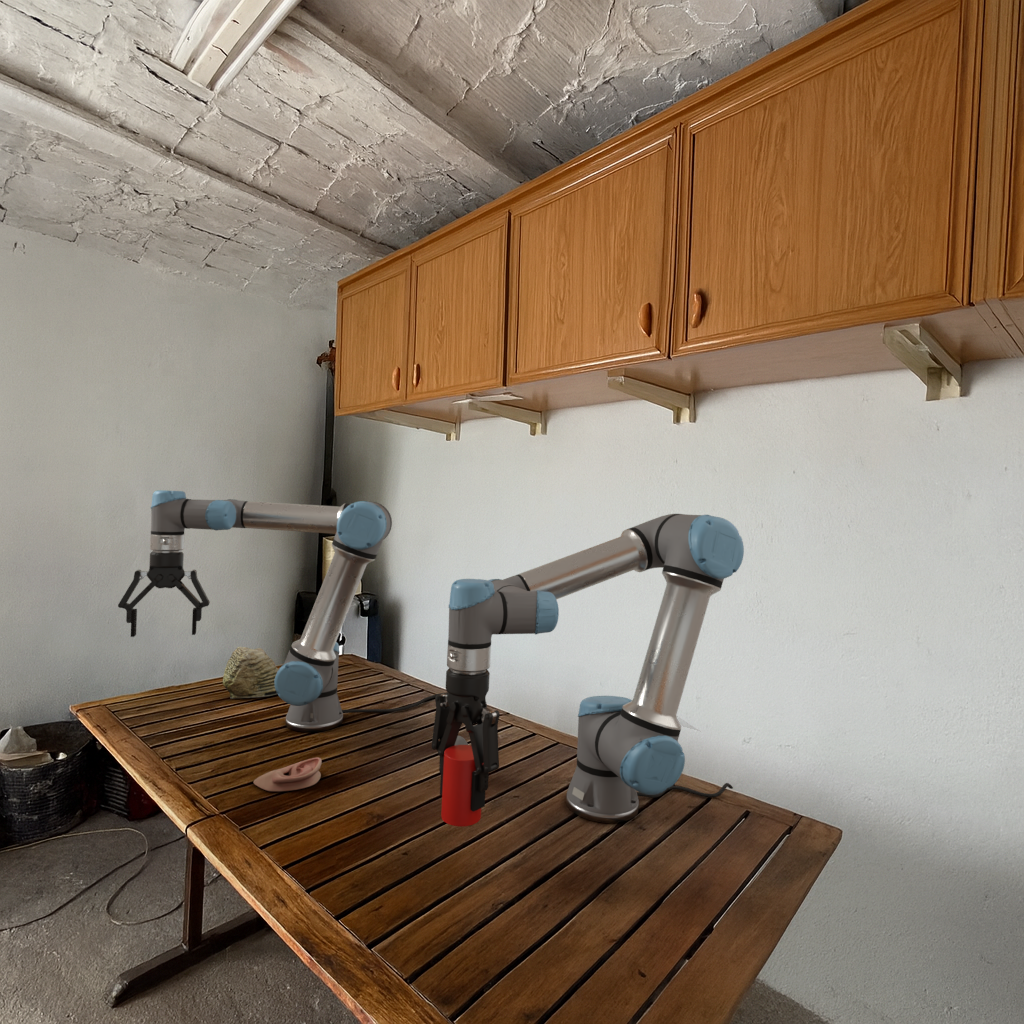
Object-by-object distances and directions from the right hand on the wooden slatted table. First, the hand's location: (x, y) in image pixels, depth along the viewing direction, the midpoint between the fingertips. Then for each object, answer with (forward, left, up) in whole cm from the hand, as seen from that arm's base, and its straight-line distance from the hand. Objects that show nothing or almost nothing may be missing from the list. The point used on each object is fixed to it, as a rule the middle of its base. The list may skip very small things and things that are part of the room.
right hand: (461, 800), depth 110 cm
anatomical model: (+31, -40, -12) cm, 52 cm away
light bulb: (-5, -34, -12) cm, 36 cm away
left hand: (+64, -70, +14) cm, 96 cm away
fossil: (+46, -104, -12) cm, 114 cm away
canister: (0, 0, -3) cm, 3 cm away
